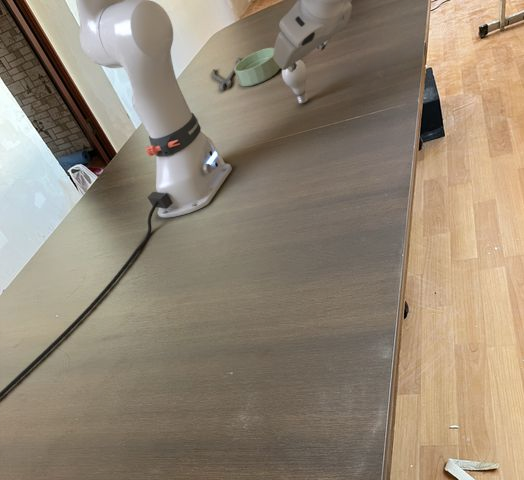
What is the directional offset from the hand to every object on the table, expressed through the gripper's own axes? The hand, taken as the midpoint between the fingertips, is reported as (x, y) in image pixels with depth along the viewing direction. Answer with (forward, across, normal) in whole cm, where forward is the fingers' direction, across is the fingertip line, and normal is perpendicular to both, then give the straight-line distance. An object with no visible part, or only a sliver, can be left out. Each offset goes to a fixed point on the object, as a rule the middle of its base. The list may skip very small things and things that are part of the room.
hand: (305, 58), depth 117 cm
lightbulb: (+13, 0, +4) cm, 13 cm away
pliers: (+50, -7, -34) cm, 61 cm away
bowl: (+38, -10, -21) cm, 44 cm away
